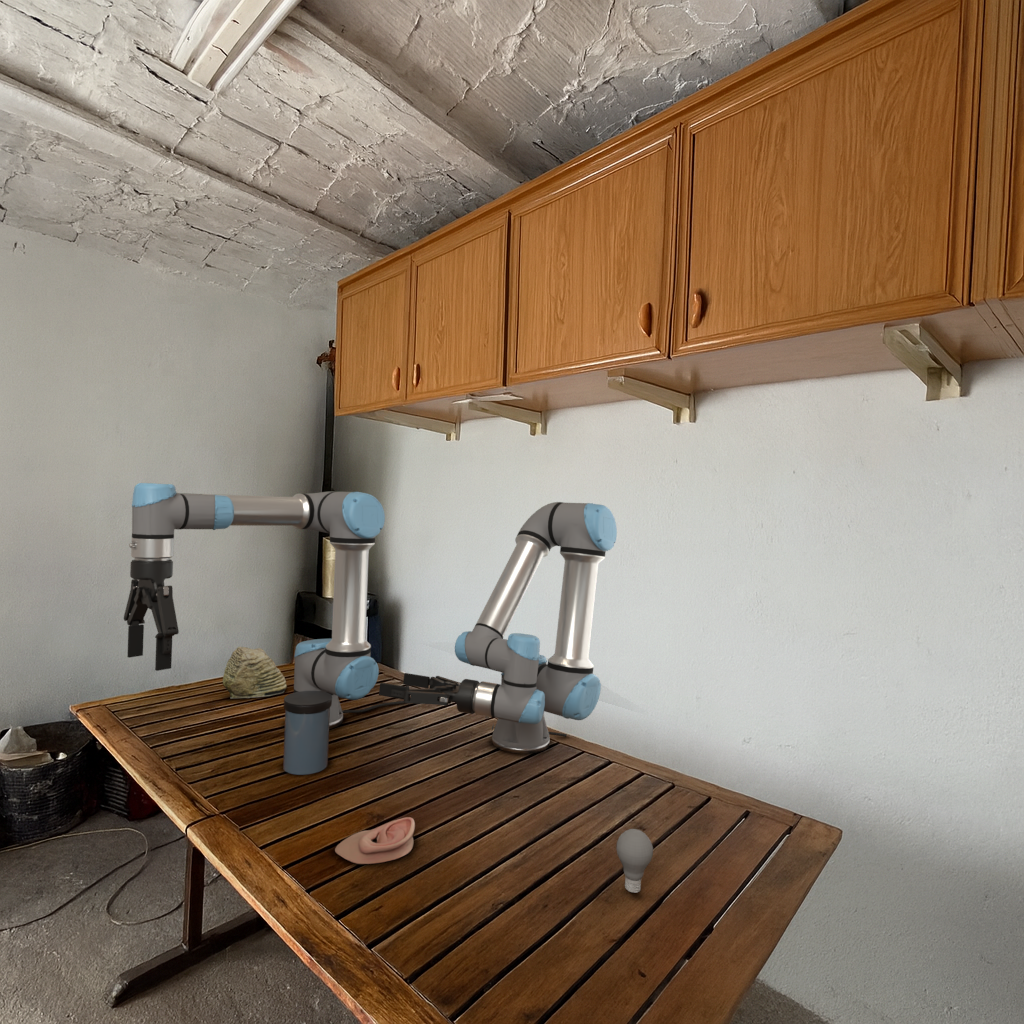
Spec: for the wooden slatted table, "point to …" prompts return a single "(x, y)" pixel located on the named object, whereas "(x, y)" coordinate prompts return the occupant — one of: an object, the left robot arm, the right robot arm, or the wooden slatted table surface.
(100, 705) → the wooden slatted table surface
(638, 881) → the light bulb
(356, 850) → the anatomical model
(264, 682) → the fossil
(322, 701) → the lid
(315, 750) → the jar
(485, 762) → the wooden slatted table surface
